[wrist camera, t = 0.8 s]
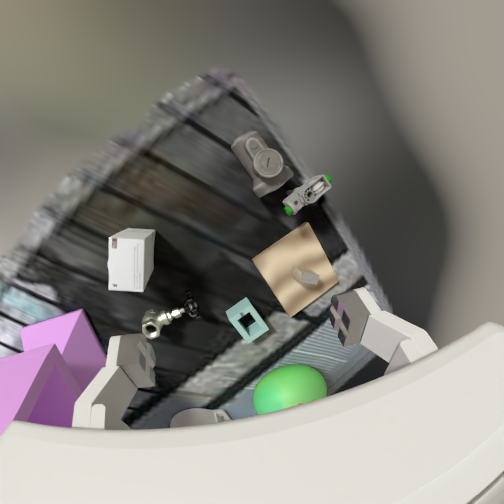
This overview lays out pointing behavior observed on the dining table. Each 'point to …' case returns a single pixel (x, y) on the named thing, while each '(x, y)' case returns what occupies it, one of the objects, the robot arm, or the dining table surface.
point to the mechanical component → (306, 193)
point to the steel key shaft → (304, 275)
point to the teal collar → (247, 333)
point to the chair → (50, 371)
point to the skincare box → (131, 259)
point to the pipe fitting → (261, 163)
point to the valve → (168, 316)
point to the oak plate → (299, 255)
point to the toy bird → (288, 388)
